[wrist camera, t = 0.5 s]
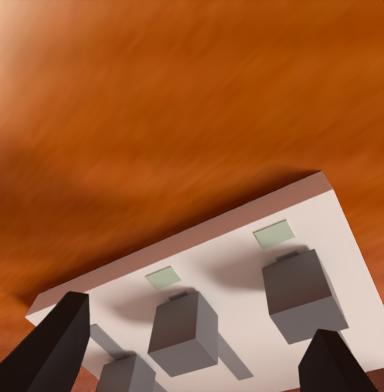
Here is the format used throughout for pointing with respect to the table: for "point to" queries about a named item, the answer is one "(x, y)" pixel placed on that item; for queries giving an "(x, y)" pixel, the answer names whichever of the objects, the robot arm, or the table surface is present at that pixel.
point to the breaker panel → (231, 291)
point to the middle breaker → (184, 335)
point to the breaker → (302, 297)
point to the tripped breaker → (127, 376)
